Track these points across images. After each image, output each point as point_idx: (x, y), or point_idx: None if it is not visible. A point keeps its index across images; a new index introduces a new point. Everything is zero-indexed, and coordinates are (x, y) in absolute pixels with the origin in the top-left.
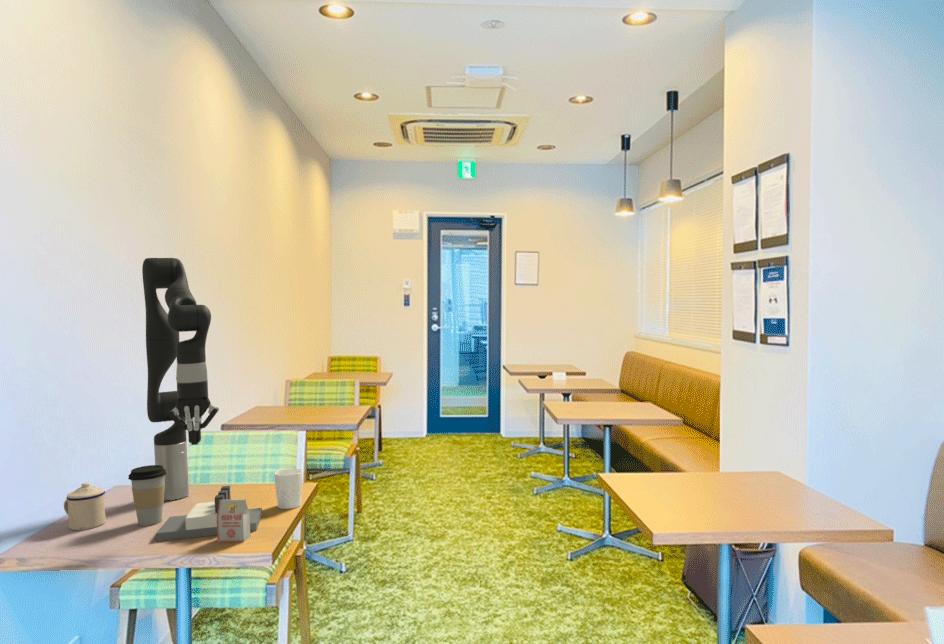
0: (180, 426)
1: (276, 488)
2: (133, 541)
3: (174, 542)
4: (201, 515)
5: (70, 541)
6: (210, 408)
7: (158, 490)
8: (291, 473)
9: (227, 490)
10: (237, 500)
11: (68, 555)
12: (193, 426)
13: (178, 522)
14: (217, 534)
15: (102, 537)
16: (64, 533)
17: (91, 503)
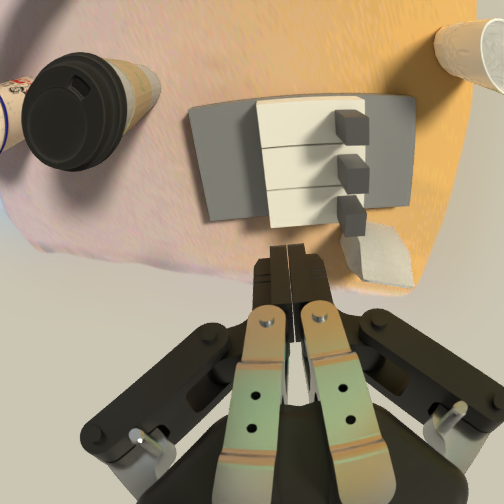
0: (211, 381)
1: (461, 64)
2: (165, 205)
3: (254, 225)
4: (304, 216)
5: (54, 189)
6: (447, 454)
7: (133, 119)
8: (501, 25)
9: (369, 168)
10: (399, 286)
11: (97, 249)
12: (286, 339)
13: (231, 158)
14: (342, 249)
15: (91, 175)
16: (19, 149)
17: (11, 140)
